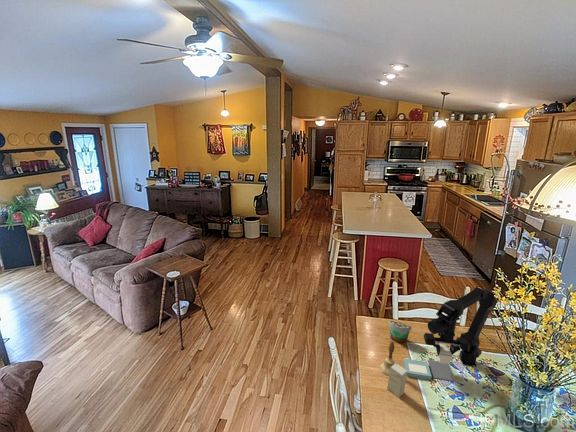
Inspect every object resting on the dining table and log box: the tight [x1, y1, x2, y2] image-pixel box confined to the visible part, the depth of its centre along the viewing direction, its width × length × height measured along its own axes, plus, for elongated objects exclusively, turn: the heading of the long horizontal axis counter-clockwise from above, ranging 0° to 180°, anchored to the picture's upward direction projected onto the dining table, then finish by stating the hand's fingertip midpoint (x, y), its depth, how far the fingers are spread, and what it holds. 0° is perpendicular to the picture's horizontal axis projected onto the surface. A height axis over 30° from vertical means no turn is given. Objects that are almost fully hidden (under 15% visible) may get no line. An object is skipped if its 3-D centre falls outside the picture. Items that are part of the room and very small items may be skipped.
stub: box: [435, 343, 453, 365], centre depth 148 cm, size 4×7×6 cm, turn 167°
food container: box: [388, 319, 413, 344], centre depth 171 cm, size 12×6×10 cm, turn 62°
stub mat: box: [427, 359, 456, 383], centre depth 150 cm, size 10×12×1 cm
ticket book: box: [403, 357, 433, 381], centre depth 150 cm, size 11×10×2 cm
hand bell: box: [379, 340, 396, 376], centre depth 149 cm, size 8×8×16 cm
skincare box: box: [387, 362, 408, 398], centre depth 137 cm, size 6×4×12 cm
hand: (443, 356), depth 148 cm, fingers closed on stub, 4 cm apart
